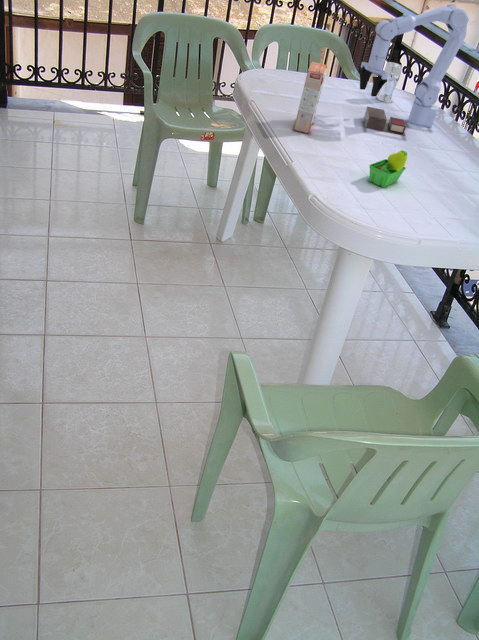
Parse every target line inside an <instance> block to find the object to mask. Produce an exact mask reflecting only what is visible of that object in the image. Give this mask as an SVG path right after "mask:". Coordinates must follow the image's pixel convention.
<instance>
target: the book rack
mask: <svg viewBox="0 0 479 640" xmlns="http://www.w3.org/2000/svg"><path fill="white" fill-rule="evenodd" d="M363 120H364V125H365V126H364V127H365V128H366V129H369V130H372V131H373V130H374V131H379V132H382V133H387V134H393V135H397V136H402V137H407V136H406V132H404V134H401V133H396V132H391V131H390V129H389V126H388V124H389V122H387V121H388V118H387V115H386V112H385V109H382V108H377V107H372V106H366V108H365V112H364V116H363Z"/></svg>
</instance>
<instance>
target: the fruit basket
mask: <svg viewBox="0 0 479 640" xmlns="http://www.w3.org/2000/svg"><path fill="white" fill-rule="evenodd" d="M407 160H408V152H407V151H406V150H404V149H402V150H400V151H398V152H393V153H391V154H390V155H388V157H387V159H385V158H384V159H381V160H379V161H376V162H374V163H370V164H369V165H368V166H369V182H370V183H373V184H374V185H377V186H379V187H381V188H385V187H388V186H390V185H392V184H395V183H397V182H398V180H400V177H401V176H402V174H403V173H404V172H405V170H406V169H407V167H405V165H406V162H407Z"/></svg>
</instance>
